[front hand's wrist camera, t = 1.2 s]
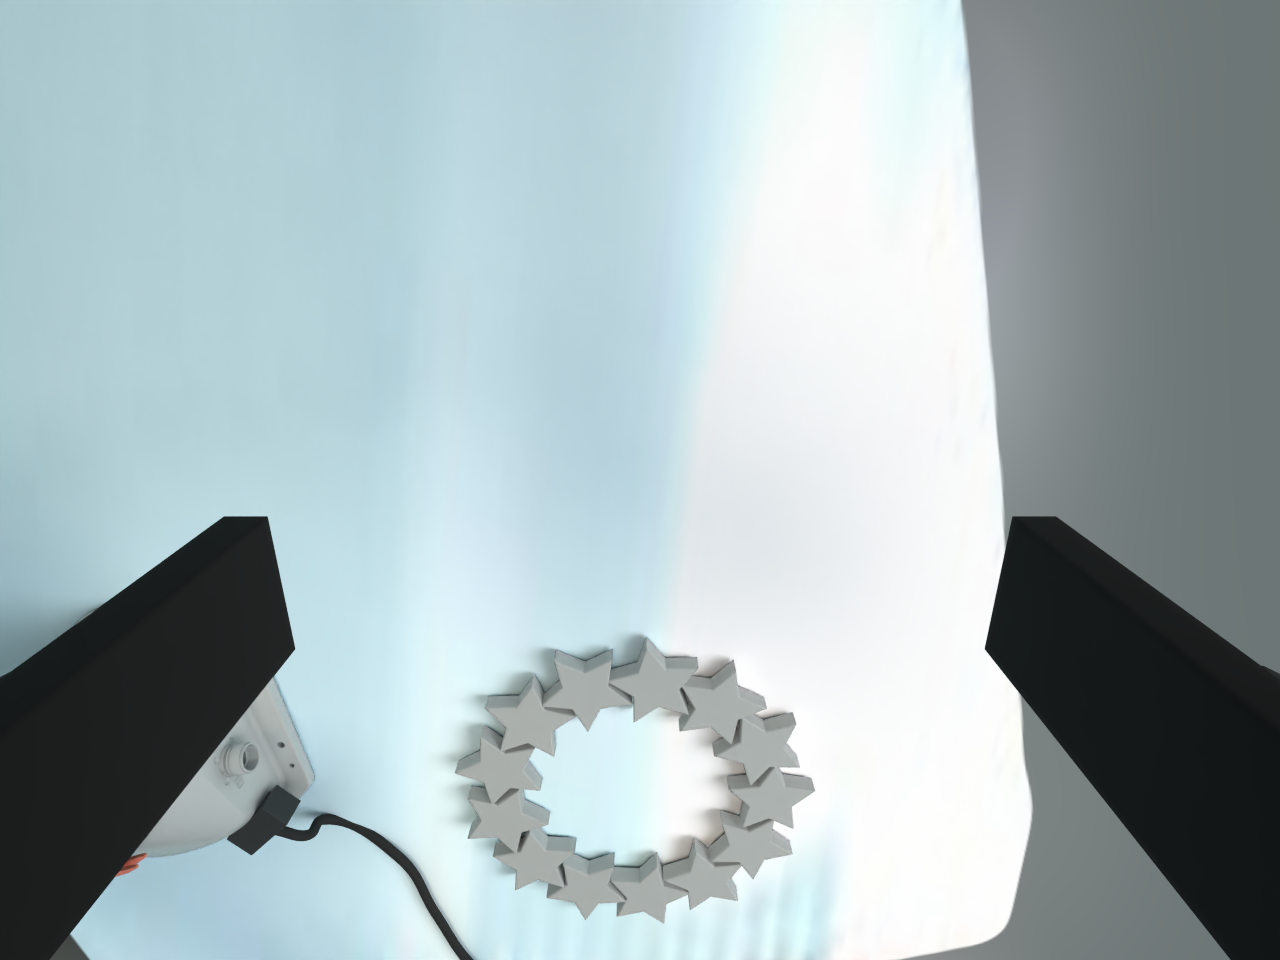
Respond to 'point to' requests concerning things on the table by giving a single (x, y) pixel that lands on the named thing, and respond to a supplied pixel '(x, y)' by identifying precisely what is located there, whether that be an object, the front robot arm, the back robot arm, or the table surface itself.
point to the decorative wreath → (651, 688)
